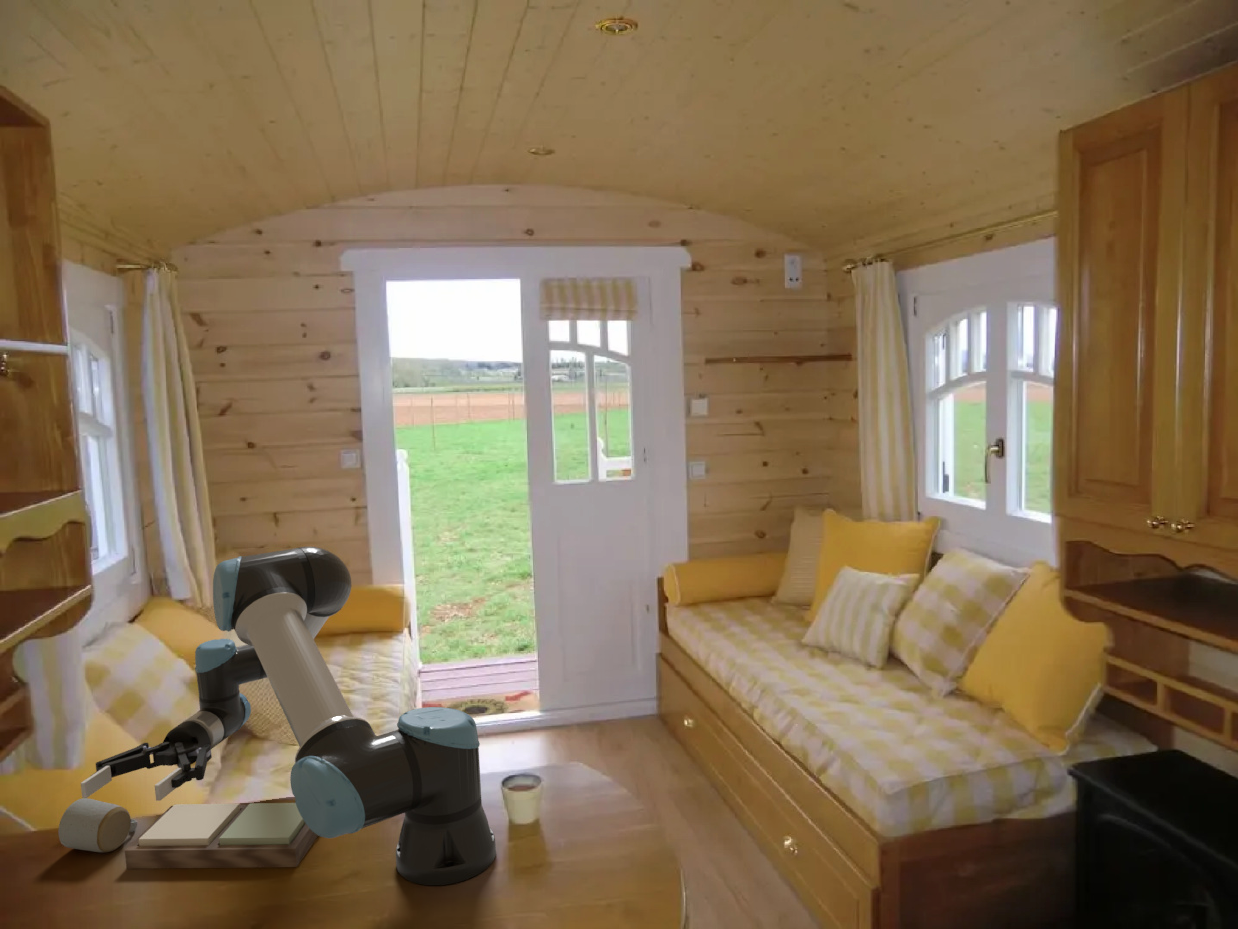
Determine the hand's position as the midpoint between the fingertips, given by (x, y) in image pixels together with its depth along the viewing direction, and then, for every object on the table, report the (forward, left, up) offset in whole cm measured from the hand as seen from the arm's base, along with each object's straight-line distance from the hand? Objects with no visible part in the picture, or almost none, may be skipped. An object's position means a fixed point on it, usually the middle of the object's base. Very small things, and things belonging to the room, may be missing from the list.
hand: (120, 792), depth 158 cm
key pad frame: (-22, -4, -6) cm, 23 cm away
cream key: (-17, -1, -5) cm, 17 cm away
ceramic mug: (-3, +5, -6) cm, 8 cm away
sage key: (-28, -7, -5) cm, 29 cm away
